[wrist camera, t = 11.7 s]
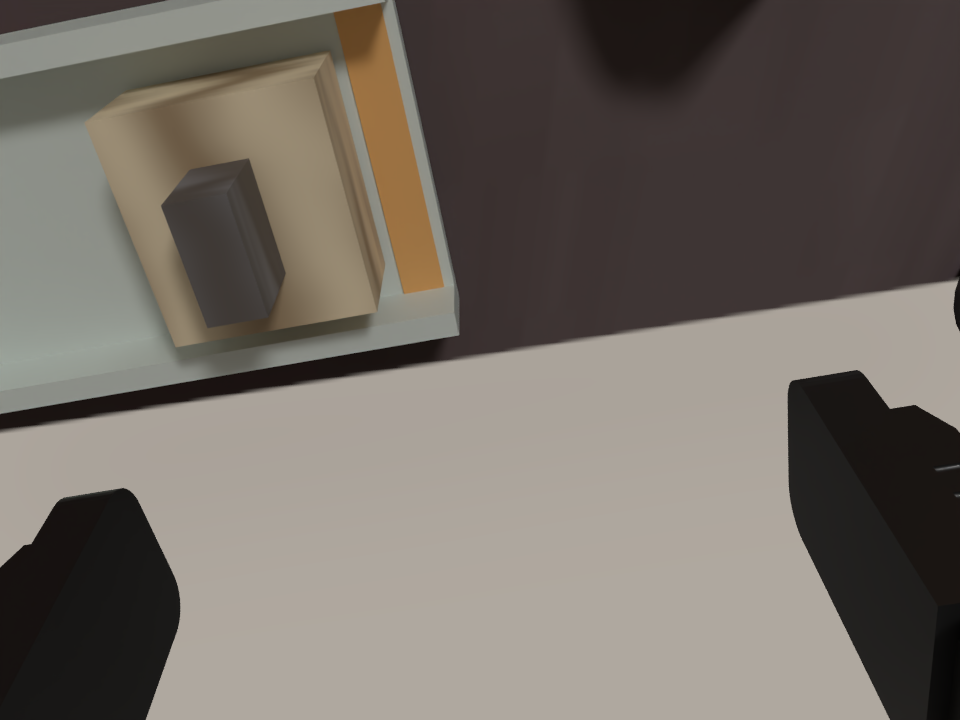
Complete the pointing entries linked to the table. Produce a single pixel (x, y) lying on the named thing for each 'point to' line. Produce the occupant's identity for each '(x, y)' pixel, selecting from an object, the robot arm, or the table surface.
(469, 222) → the table surface
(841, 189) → the table surface
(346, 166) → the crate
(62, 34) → the bay
